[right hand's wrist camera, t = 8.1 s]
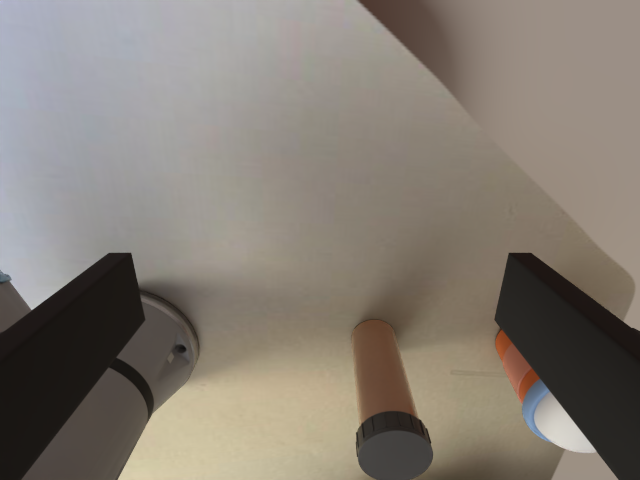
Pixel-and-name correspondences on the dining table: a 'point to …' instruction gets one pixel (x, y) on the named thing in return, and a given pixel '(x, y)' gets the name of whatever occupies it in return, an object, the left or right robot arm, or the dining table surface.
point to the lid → (393, 446)
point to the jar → (379, 371)
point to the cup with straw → (539, 401)
